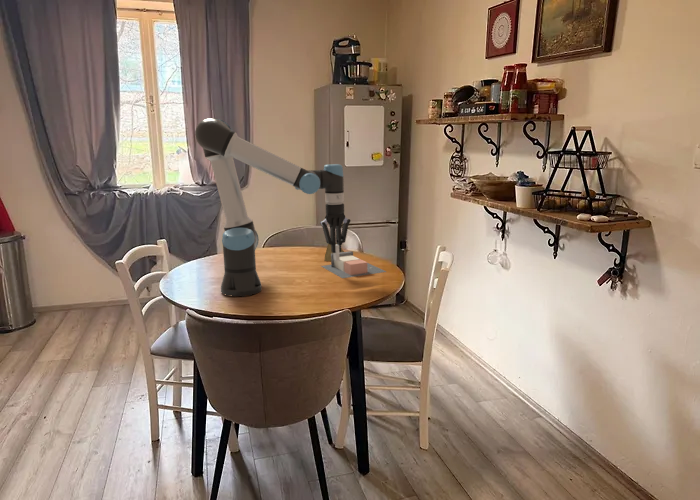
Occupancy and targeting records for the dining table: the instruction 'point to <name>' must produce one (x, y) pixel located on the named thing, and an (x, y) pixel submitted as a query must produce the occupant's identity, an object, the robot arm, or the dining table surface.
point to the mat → (343, 274)
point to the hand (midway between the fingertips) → (336, 260)
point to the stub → (355, 267)
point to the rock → (329, 253)
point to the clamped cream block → (343, 260)
